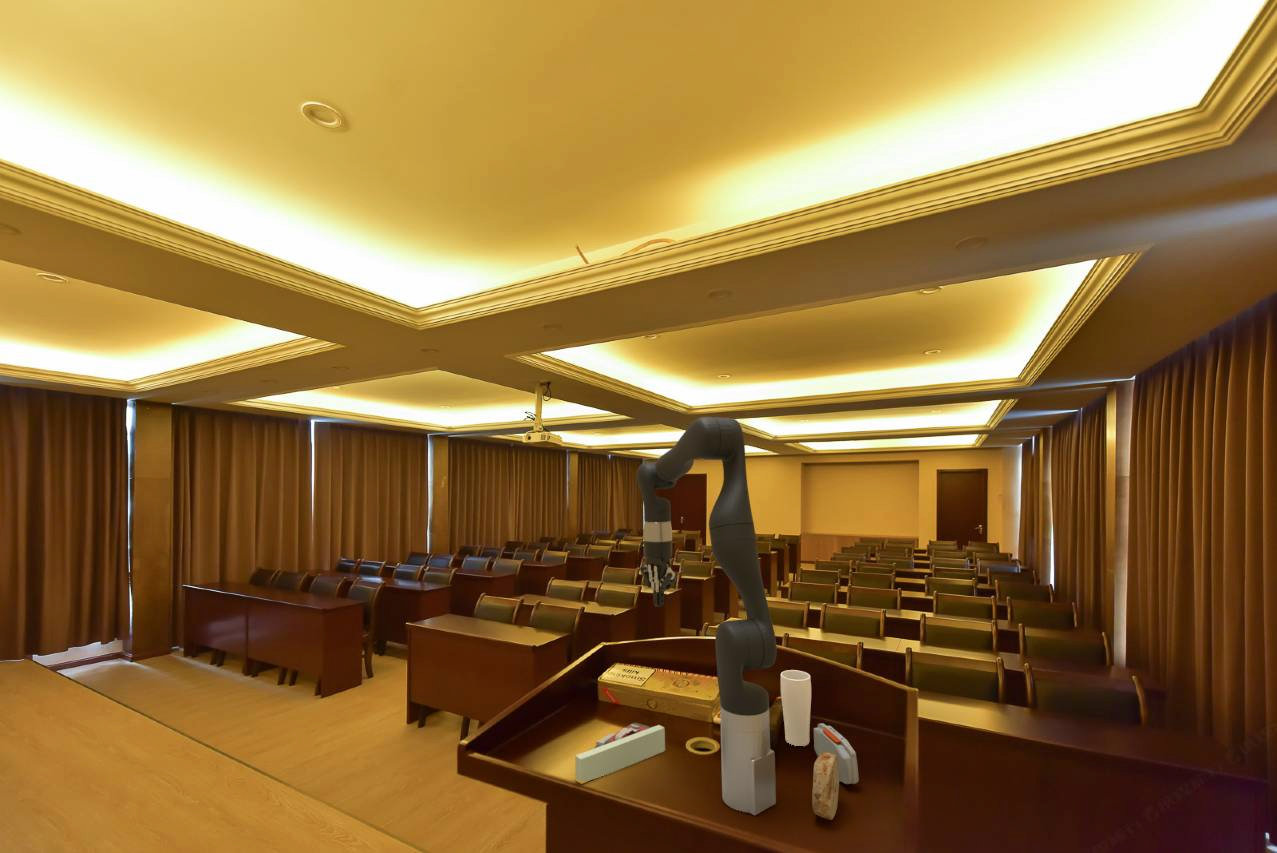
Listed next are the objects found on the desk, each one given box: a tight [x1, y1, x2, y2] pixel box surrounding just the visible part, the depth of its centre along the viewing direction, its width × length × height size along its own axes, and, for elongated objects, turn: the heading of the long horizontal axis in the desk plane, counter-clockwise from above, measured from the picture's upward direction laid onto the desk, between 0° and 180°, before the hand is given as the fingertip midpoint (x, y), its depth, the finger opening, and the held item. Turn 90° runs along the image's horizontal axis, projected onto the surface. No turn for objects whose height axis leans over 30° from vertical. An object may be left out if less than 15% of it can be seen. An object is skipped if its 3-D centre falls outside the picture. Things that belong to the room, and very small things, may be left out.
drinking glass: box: [780, 669, 812, 747], centre depth 133 cm, size 7×7×15 cm
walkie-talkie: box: [594, 722, 652, 748], centre depth 129 cm, size 9×4×20 cm
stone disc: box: [811, 752, 840, 821], centre depth 106 cm, size 10×4×10 cm, turn 150°
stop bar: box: [574, 724, 666, 782], centre depth 123 cm, size 2×22×5 cm, turn 128°
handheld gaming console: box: [813, 722, 860, 785], centre depth 119 cm, size 14×3×8 cm, turn 11°
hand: (658, 605), depth 151 cm, fingers closed
